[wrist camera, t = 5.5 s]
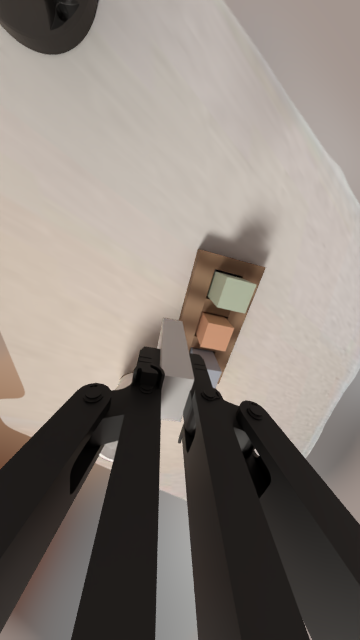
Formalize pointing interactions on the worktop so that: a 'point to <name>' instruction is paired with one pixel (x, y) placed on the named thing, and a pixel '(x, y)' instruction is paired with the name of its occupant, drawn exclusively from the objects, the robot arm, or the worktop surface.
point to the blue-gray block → (209, 364)
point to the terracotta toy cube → (214, 331)
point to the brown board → (200, 301)
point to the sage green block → (231, 292)
